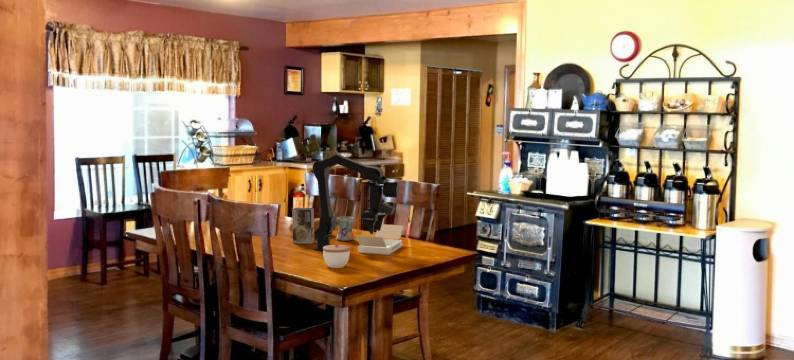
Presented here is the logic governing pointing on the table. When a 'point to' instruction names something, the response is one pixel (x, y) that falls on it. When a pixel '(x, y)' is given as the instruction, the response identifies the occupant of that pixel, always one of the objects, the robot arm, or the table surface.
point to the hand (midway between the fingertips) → (375, 232)
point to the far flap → (390, 231)
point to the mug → (345, 228)
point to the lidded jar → (336, 255)
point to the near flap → (371, 241)
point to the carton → (390, 243)
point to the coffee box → (303, 225)
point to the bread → (316, 225)
